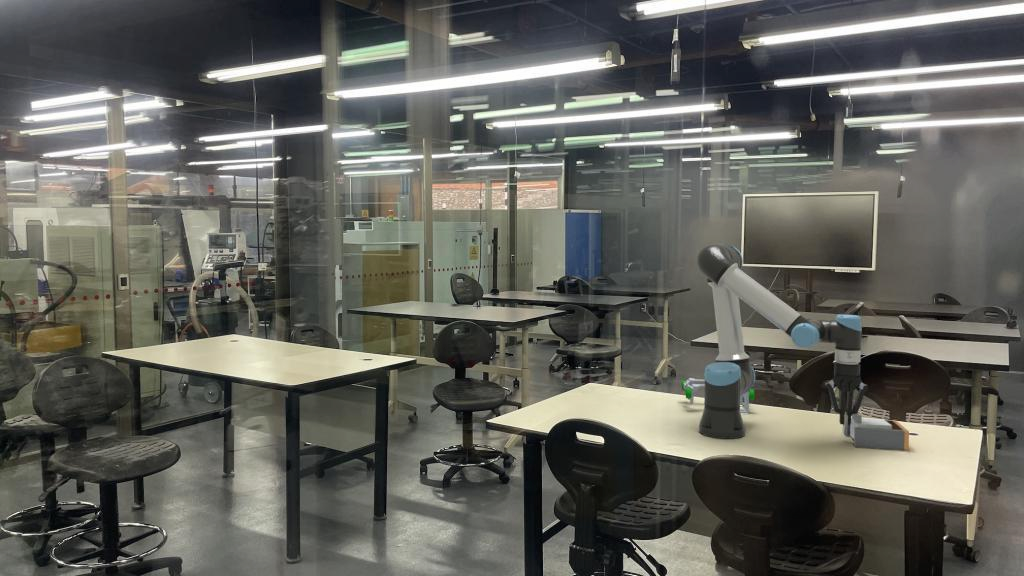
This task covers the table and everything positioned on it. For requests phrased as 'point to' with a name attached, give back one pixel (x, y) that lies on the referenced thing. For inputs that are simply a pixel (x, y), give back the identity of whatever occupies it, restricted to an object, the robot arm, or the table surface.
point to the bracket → (692, 389)
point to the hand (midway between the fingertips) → (844, 434)
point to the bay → (882, 437)
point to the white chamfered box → (867, 423)
